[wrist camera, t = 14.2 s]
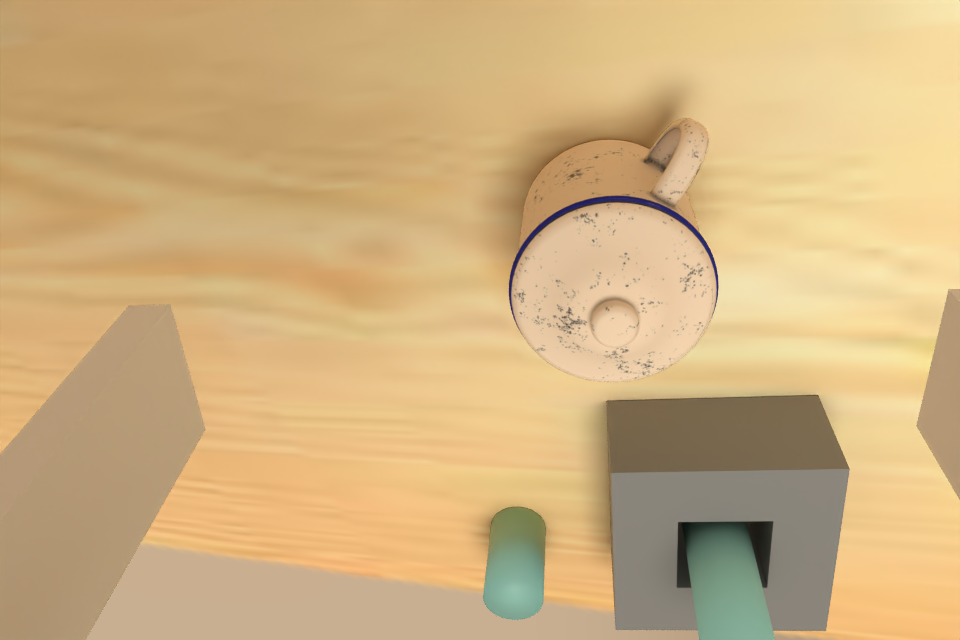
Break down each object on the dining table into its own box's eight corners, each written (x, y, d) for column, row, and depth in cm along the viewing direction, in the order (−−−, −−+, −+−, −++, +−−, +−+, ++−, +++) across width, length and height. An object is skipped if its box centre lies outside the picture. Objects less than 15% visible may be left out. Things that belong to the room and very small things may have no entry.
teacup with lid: (633, 319, 48) (650, 451, 38) (489, 247, 47) (466, 364, 37) (764, 135, 42) (824, 233, 32) (603, 46, 41) (614, 120, 31)
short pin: (493, 547, 58) (486, 619, 53) (488, 507, 56) (480, 577, 51) (547, 547, 57) (545, 619, 52) (544, 506, 56) (541, 577, 50)
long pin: (674, 500, 54) (705, 712, 41) (675, 455, 53) (708, 662, 40) (733, 500, 54) (783, 714, 41) (736, 454, 52) (789, 663, 39)
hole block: (611, 549, 57) (615, 629, 51) (606, 401, 51) (611, 472, 45) (800, 548, 55) (825, 630, 50) (817, 395, 50) (849, 468, 44)
